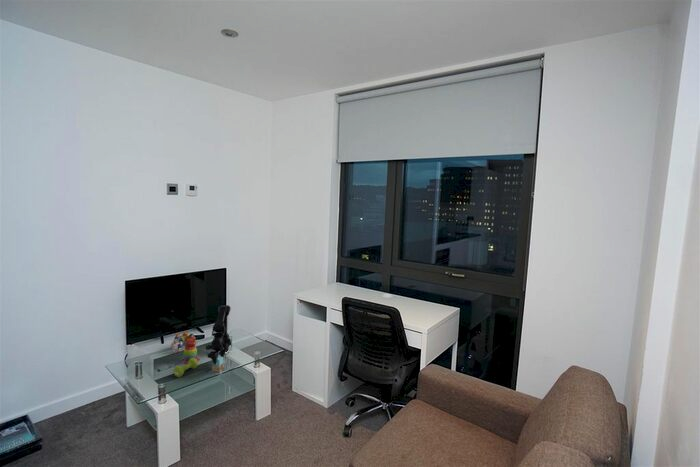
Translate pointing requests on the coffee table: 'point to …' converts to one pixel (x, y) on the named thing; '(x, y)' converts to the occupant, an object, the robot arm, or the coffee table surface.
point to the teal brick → (219, 361)
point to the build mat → (214, 372)
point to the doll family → (177, 342)
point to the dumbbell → (185, 367)
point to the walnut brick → (217, 368)
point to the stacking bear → (190, 350)
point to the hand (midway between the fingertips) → (218, 361)
